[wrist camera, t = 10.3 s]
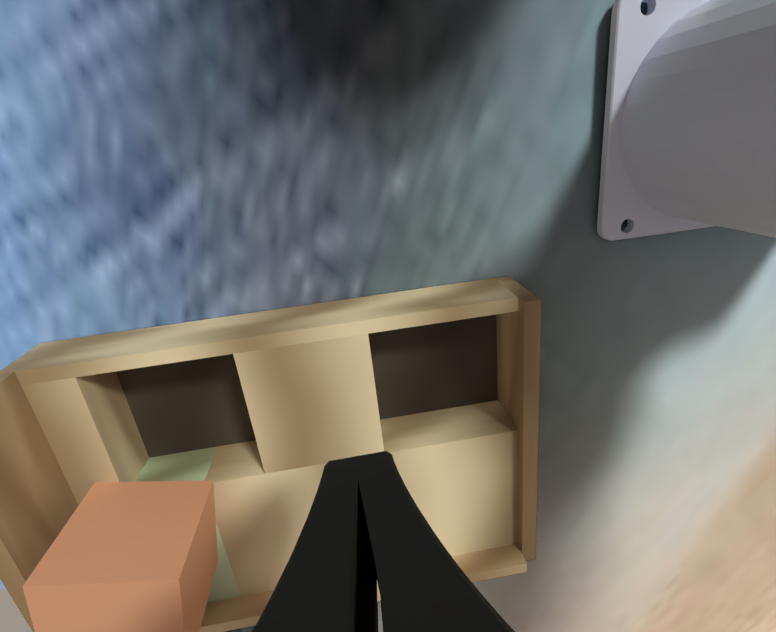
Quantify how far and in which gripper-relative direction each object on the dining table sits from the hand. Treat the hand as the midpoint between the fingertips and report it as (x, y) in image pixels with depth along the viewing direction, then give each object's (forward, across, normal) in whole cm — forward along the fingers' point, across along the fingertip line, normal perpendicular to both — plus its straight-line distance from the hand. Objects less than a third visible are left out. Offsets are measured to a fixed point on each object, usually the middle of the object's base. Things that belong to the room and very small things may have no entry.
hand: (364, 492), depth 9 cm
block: (+6, +8, +6) cm, 12 cm away
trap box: (+9, +3, +5) cm, 10 cm away
